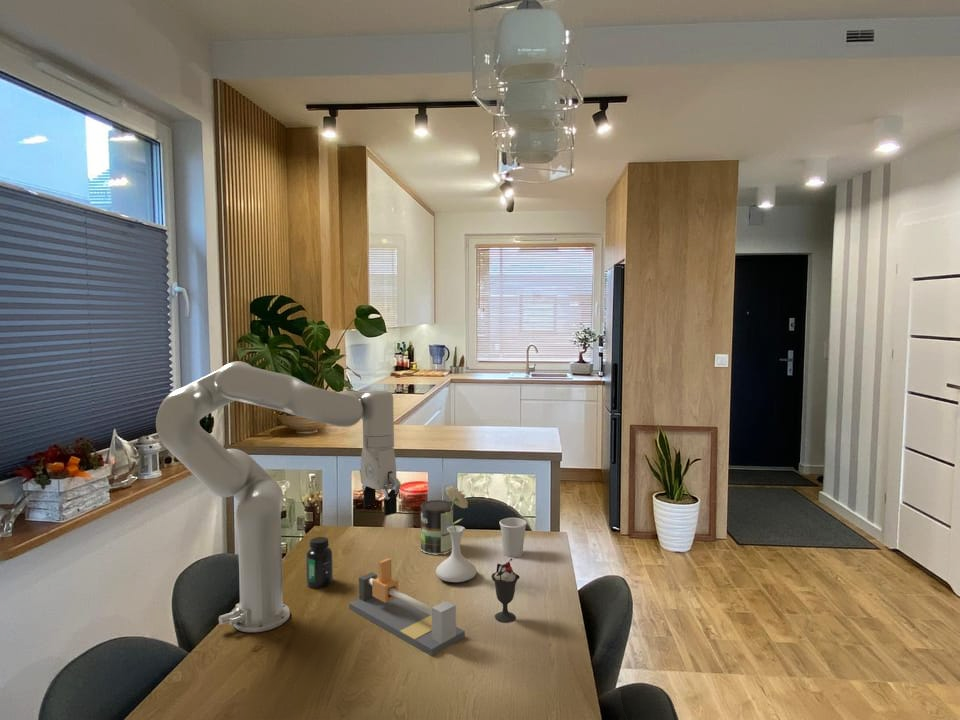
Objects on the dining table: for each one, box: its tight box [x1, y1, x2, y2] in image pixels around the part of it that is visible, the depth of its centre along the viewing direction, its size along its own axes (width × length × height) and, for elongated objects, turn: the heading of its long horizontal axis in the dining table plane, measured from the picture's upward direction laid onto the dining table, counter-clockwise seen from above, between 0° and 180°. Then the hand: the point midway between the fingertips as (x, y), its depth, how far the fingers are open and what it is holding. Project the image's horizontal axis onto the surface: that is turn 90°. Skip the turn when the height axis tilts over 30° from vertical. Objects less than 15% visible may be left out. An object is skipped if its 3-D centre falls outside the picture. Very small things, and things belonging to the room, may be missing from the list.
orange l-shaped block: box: [372, 557, 399, 603], centre depth 140 cm, size 5×4×9 cm
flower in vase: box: [435, 485, 478, 583], centre depth 160 cm, size 13×11×25 cm
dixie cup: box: [499, 517, 528, 559], centre depth 176 cm, size 8×8×10 cm
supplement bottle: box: [305, 536, 334, 589], centre depth 156 cm, size 7×7×12 cm
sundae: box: [491, 558, 521, 623], centre depth 138 cm, size 7×7×15 cm
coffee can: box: [419, 499, 454, 555], centre depth 180 cm, size 10×10×14 cm
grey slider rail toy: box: [348, 572, 466, 657], centre depth 136 cm, size 30×10×8 cm, turn 47°
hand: (379, 509), depth 143 cm, fingers open, 9 cm apart
